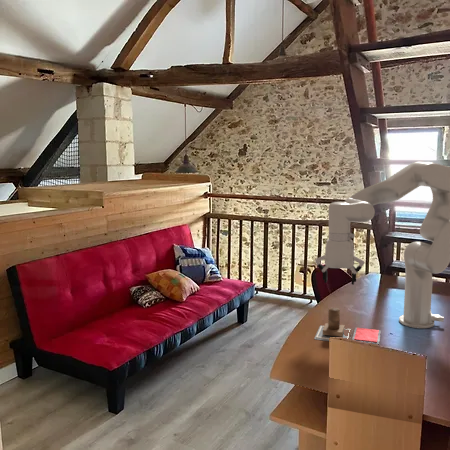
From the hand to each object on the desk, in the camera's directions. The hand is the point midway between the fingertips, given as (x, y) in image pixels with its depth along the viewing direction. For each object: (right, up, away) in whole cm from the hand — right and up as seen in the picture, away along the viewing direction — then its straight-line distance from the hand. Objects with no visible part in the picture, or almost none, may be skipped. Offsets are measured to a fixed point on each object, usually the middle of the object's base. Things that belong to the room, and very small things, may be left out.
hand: (339, 282), depth 167 cm
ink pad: (+9, -20, -3) cm, 22 cm away
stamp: (-2, -19, +1) cm, 19 cm away
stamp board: (-2, -19, +1) cm, 19 cm away
